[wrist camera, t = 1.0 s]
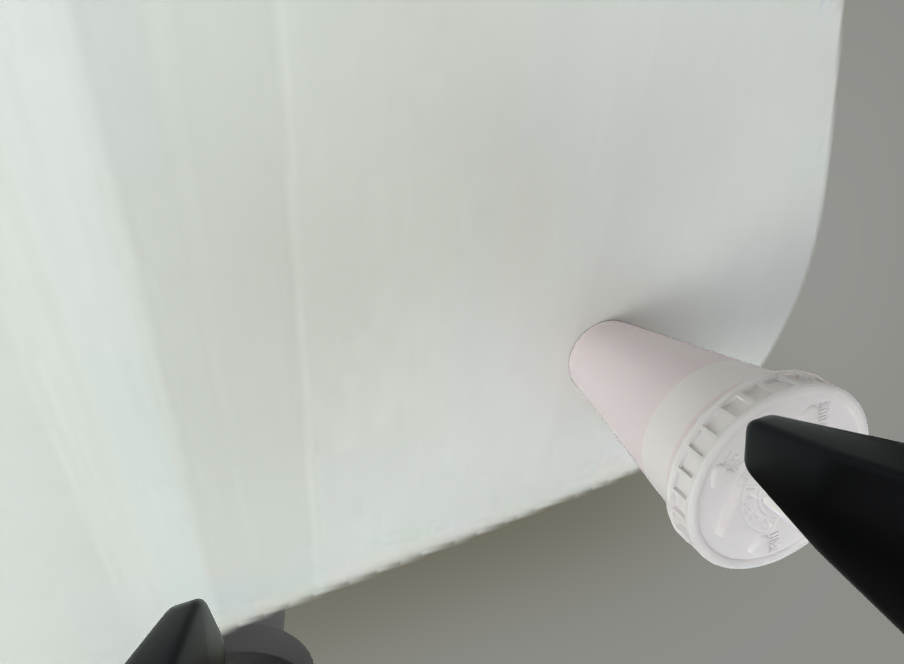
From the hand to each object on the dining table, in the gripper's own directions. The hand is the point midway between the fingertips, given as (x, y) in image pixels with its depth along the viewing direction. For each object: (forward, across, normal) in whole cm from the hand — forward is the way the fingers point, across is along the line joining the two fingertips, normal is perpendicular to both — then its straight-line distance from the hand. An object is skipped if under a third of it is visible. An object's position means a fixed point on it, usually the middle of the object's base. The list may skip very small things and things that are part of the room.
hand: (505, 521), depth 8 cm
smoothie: (+13, -9, +5) cm, 17 cm away
